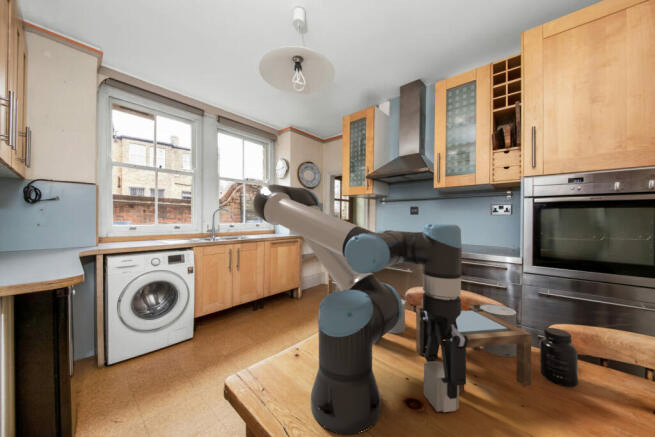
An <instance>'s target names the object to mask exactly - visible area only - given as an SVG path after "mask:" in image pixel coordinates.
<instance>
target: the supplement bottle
mask: <svg viewBox="0 0 655 437" xmlns="http://www.w3.org/2000/svg"><path fill="white" fill-rule="evenodd" d="M572 343H573V340H572V334H571V333H570V332H568V331H566V330H563V329H560V328H555V327H546V328H545V329H544V337H542V338H541V339H540V340H539V358H540V359H539V361H540V364H539V366H540V374H541V375H542V377H543V378H545V380H548V382H550V383H552V384H555V385H557V386H560V387H564V388H571V389H572V388H576V387H578V384H579V367H578V364H579V362H578V359H579V358H578V355H579V354H578V350H577V348H576V347H575V346H574V345H573V344H572Z"/></svg>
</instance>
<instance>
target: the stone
mask: <svg viewBox="0 0 655 437" xmlns="http://www.w3.org/2000/svg"><path fill="white" fill-rule="evenodd" d="M442 378H445V375H444V367H443V361H438V362H435V363H426V362H425V363H423V395H424V396H425V398H426V399H427V400H428V402H429V403H430V404H431V406H432V407H433V408H434V410H435V411H436V412H443V410H442ZM459 395H460V394H459V385H457V398H456V410H459V408H460V407H459V406H460V396H459Z"/></svg>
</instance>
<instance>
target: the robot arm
mask: <svg viewBox="0 0 655 437" xmlns="http://www.w3.org/2000/svg"><path fill="white" fill-rule="evenodd" d="M252 203H253V204H252V205H253V210H254V213H255V214H256V215H257V216H258V218H260V219H261V220H263V221H264V222H265V223H268V224H270V225H272V226H279V225H280V226H282V227H283V228H286V229H287V230H290V231H292V232H294V233H295V234H298V235H299V236H301V237H302V238H303V240H304V241H305V242H306V244H307V245H308V246H309V248H310V250H311V251H312V252H313V254H314V255H315V257H316V258H317V260H319V262H320V263H321V265H322V267H323V268H324V269H325V270H326V272H327V273H328V275H329V276H330V278H331V279H332V280H333V282H334V283H335V284H336V287H338V289H339V290H337V291H333V292H331V293H329V294H327V295H326V296H324V297H323V299H322V300H321V301H320V304H319V307H318V309H319V310H318V316H317V324H318V369H317V372H316V376H315V379H314V382H313V385H312V389H311V393H310V394H311V395H310V409H311V413H312V415H313V417H314V419H315V420H316V421H317V423H318V424H319V425H321V426H322V425H323V426H325V427H326V428H328V429H330V430H332V431H331V432H333V431H335V432H334V433H336V432H337V433H336V434H340V433H341V434H340V435H356V434H355V433H357V434H360V433H359V432H361V431H364V430H366V429H368V428H370V427H371V426H372V427H373V426H375V424H377V422H378V420H380V419H379V418H380V416H381V412H382V410H381V409H382V406H381V405H382V401H381V393H380V390H379V388H378V384H377V381H376V377H375V374H374V372H373V345H374V344H376V343H377V342H378V341H379V340H380V339H381V338H382V337H383V336H385V335H386V334H387V333H388V331H390V330H391V329H392V328H394V327H395V326H396V324H397V323H398V321H399V320H400V318H401V316H402V307H403V306H402V301H401V300H402V298H401V295H400V294H399V293H398V291H397V290H396V289H395V288H394V287H393V286H391V285H390V284H388V283H384V282H381V281H380V280H379V279H378V277H377V276H376V275H375V274H374V273H376V272H379V271H381V270H384V269H386V268H388V267H390V266H394V265H396V264H400V263H403V264H413V265H421V266H422V267H423V269H422V270H423V271H422V272H423V274H422V275H423V276H422V291H423V294H422V299H423V309H424V310H425V311H421V312H420V317H421V352H422V353H424V354H425V355H424V359H425V361H426V362H425V363H435V362H439V361H438V360H440V356H439V355H438V354H439V350H440V351H441V352H440V353H441V358H442V362H443V367H444V375H445V378H442V410H443V411H442V412H443V413H447V412H449V413H450V412H455V411H457V409H456V398H457V385H464V386H465V385H466V384H467V348H466V346H467V343H468V337H467V336H466V335H461V334H460V333H459V331H458V327H457V323H456V319H457V317H458V316H459V315H460V314H461V309H462V299H461V294H462V278H461V277H462V252H463V244H462V230H461V228H460V226H459V225H457V224H449V223H448V224H447V223H426V224H424V225H423V229H422V231H420V232H419V231H415V232H414V231H402V230H401V231H400V230H392V229H391V230H378V231H376V232H375V231H372V230H369V229H367V228H363V227H361V226H359V225H357V224H354V223H352V222H349V221H347V220H344V219H343V218H339V217H336V216H334V215H331V214H330V213H329V214H328V213H326V212H323V211H321V208H320V205H319V204H320V201H319V198H318V196H317V195H316V194H315V193H314V192H313V191H312V190H310V189H307V188H304V187H294V186H289V185H288V186H287V185H281V184H277V183H276V184H268V185H264V186H263V187H261V188H259V190H258V191H256V193H255V195H254V197H253V201H252ZM426 321H427V322H426ZM376 341H377V342H376ZM375 342H376V343H375ZM425 346H426V347H425ZM323 426H322V427H323ZM325 427H324V428H325ZM372 427H371V428H372ZM326 428H325V429H326ZM371 428H370V429H371ZM328 429H327V430H328ZM330 430H329V431H330ZM368 430H369V429H368ZM366 431H367V430H366ZM364 432H365V431H364ZM361 433H362V432H361Z"/></svg>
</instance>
